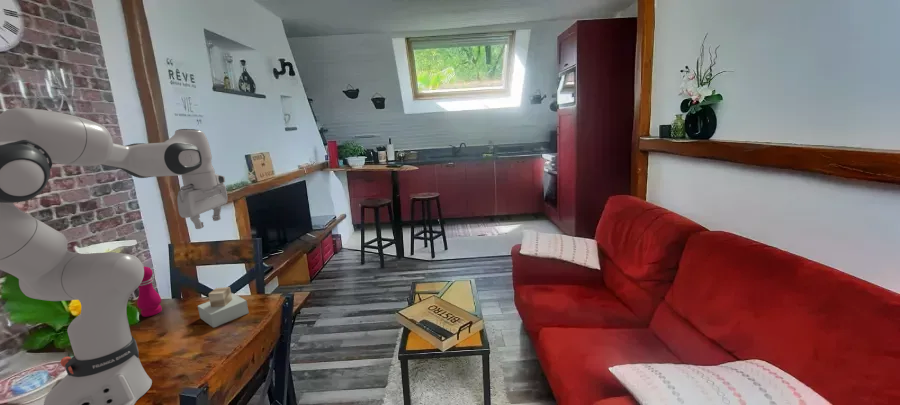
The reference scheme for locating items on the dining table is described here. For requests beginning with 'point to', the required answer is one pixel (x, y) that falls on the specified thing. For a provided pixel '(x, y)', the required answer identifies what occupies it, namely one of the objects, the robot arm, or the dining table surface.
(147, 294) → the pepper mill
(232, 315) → the base block
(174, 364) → the dining table surface
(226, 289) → the birch cube
